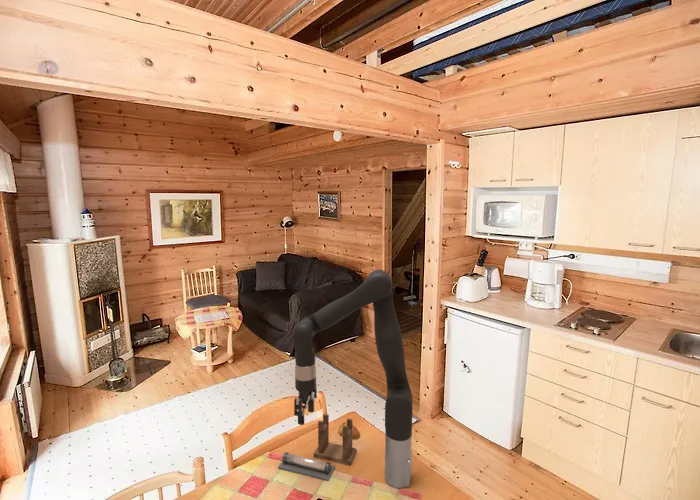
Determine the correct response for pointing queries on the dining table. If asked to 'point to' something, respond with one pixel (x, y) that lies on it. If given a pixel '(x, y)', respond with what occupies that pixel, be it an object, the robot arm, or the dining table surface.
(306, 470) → the mat
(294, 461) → the capped glass tube
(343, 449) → the rack
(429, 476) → the dining table surface
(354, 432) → the pastry
